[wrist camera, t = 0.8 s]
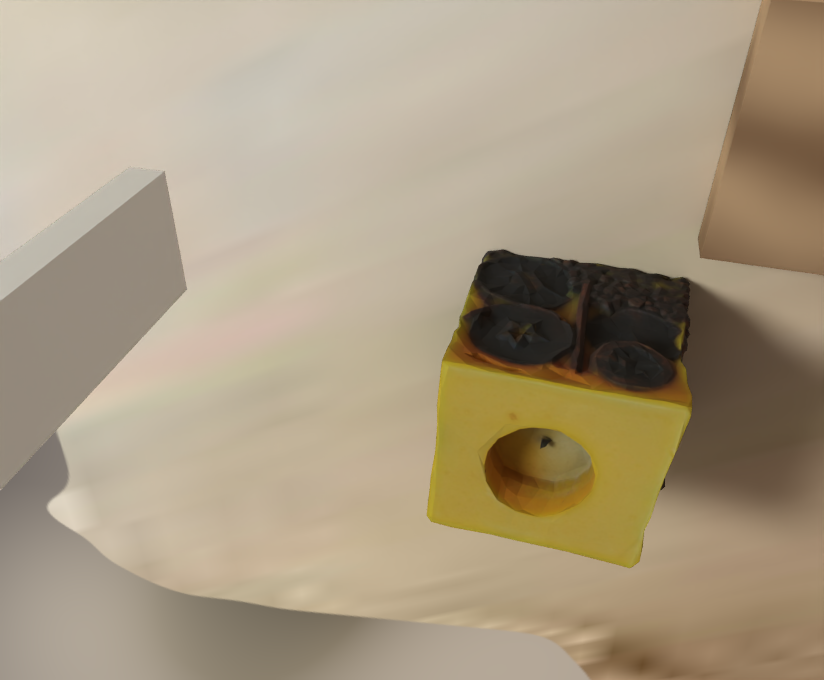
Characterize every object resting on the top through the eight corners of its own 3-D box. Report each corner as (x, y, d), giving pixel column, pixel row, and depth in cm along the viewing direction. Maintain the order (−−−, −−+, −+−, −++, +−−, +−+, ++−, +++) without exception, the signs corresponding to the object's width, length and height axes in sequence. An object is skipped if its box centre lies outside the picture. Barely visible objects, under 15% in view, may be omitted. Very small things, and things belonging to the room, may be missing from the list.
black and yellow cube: (691, 275, 37) (703, 402, 29) (644, 433, 43) (643, 575, 35) (482, 241, 39) (439, 352, 31) (464, 397, 45) (424, 525, 37)
